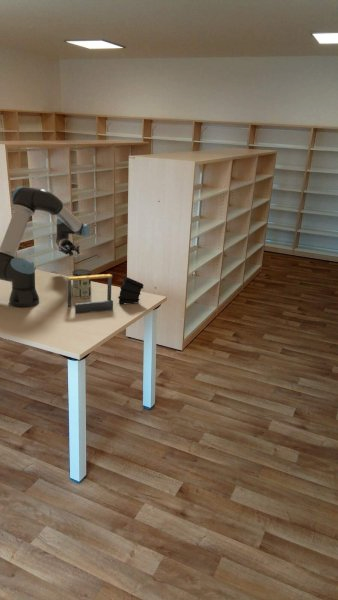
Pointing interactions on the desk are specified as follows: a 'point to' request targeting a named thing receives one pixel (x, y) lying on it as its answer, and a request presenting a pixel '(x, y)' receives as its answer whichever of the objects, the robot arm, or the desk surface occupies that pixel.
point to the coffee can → (82, 284)
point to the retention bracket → (91, 305)
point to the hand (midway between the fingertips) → (75, 255)
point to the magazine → (130, 291)
